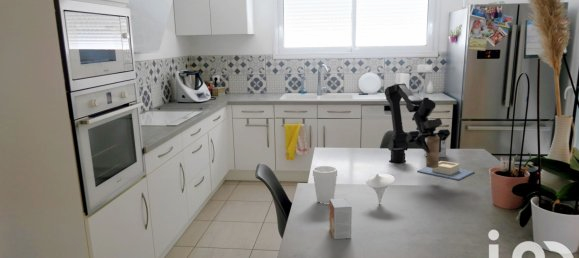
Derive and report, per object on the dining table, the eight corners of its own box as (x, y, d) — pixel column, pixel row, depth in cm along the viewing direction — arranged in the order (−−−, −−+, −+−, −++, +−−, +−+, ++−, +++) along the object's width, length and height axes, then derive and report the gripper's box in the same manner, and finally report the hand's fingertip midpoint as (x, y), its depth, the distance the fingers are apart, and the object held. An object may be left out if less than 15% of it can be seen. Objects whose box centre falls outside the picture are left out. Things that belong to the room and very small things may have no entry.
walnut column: (424, 166, 185) (425, 137, 183) (429, 164, 189) (430, 135, 186) (434, 168, 182) (436, 138, 179) (440, 166, 185) (441, 137, 183)
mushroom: (379, 210, 154) (380, 179, 152) (360, 202, 163) (360, 172, 161) (400, 204, 159) (401, 174, 157) (380, 196, 168) (380, 167, 166)
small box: (329, 229, 140) (329, 198, 138) (346, 228, 140) (346, 197, 138) (333, 239, 132) (333, 207, 130) (351, 238, 132) (351, 206, 130)
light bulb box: (443, 154, 233) (443, 134, 231) (446, 157, 227) (447, 137, 225) (423, 154, 234) (423, 135, 232) (425, 157, 228) (426, 137, 226)
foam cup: (339, 198, 168) (339, 166, 165) (334, 206, 159) (334, 173, 157) (316, 196, 171) (316, 165, 169) (310, 204, 162) (309, 171, 160)
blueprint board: (417, 171, 201) (417, 163, 200) (433, 165, 212) (434, 157, 211) (458, 180, 187) (459, 171, 186) (474, 172, 198) (474, 164, 197)
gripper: (409, 113, 183) (421, 143, 174) (449, 111, 186) (462, 140, 178) (401, 127, 192) (411, 157, 183) (438, 125, 195) (451, 154, 187)
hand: (434, 152), depth 183 cm, fingers closed on walnut column, 5 cm apart
